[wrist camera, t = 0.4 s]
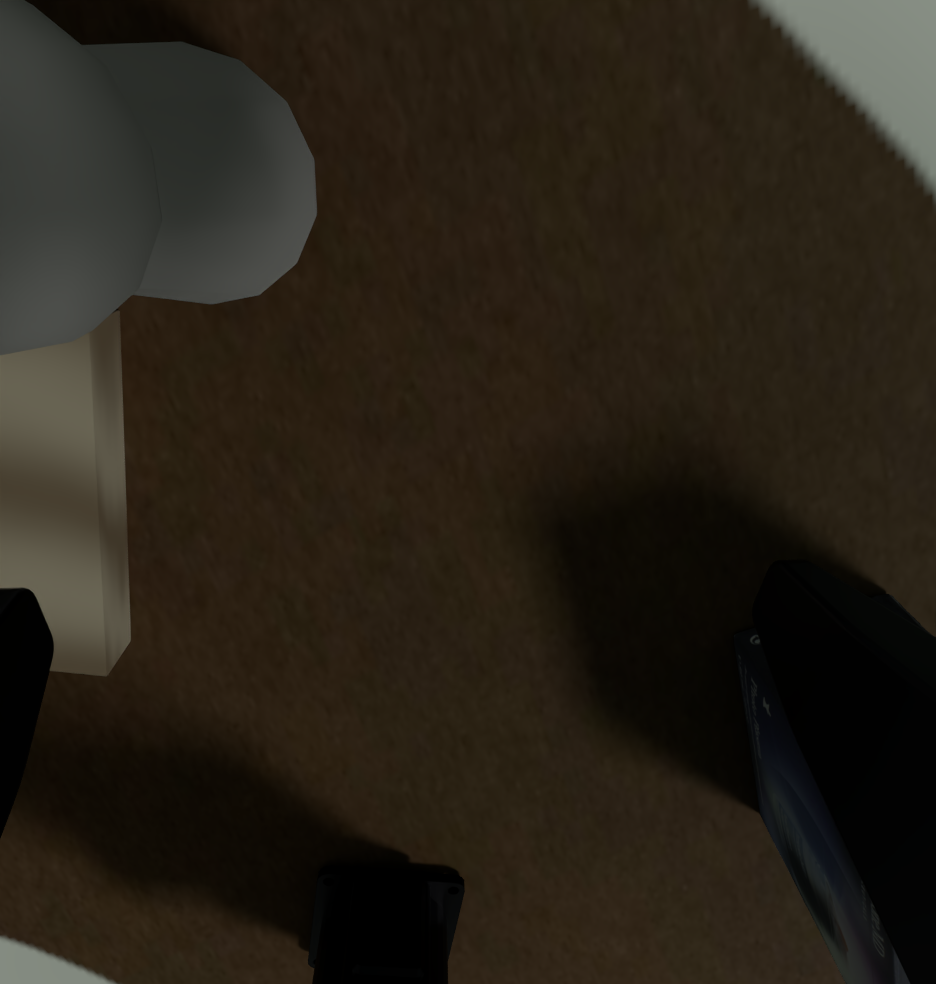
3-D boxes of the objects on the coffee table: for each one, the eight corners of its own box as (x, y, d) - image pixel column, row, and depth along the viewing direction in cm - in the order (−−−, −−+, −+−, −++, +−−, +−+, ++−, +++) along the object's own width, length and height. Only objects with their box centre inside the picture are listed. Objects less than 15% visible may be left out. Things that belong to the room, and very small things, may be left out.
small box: (719, 630, 26) (883, 886, 17) (890, 585, 26) (1161, 821, 16) (751, 819, 30) (898, 1109, 21) (899, 782, 30) (1118, 1063, 20)
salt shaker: (110, 259, 20) (-376, 367, 8) (123, 32, 18) (-523, -292, 6) (312, 311, 21) (148, 479, 9) (348, 101, 18) (195, -57, 7)
